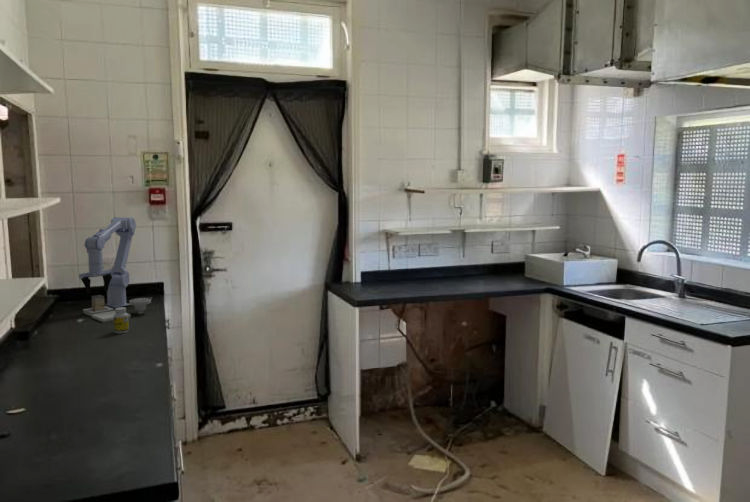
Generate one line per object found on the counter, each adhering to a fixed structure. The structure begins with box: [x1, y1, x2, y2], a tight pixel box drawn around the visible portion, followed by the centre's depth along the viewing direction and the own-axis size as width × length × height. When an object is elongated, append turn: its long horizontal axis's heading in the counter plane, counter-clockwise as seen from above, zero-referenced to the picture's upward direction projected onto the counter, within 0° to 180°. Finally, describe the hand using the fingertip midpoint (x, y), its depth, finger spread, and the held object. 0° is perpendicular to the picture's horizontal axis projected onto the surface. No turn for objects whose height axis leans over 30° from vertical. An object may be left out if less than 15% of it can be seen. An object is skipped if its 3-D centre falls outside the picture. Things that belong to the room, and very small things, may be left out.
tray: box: [91, 310, 131, 324], centre depth 253 cm, size 12×12×2 cm
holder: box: [82, 305, 115, 318], centre depth 262 cm, size 10×10×2 cm
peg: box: [91, 294, 106, 312], centre depth 262 cm, size 4×4×8 cm
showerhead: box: [128, 297, 153, 315], centre depth 261 cm, size 9×7×10 cm
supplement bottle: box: [113, 306, 130, 334], centre depth 230 cm, size 5×5×10 cm
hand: (97, 292), depth 261 cm, fingers open, 7 cm apart
